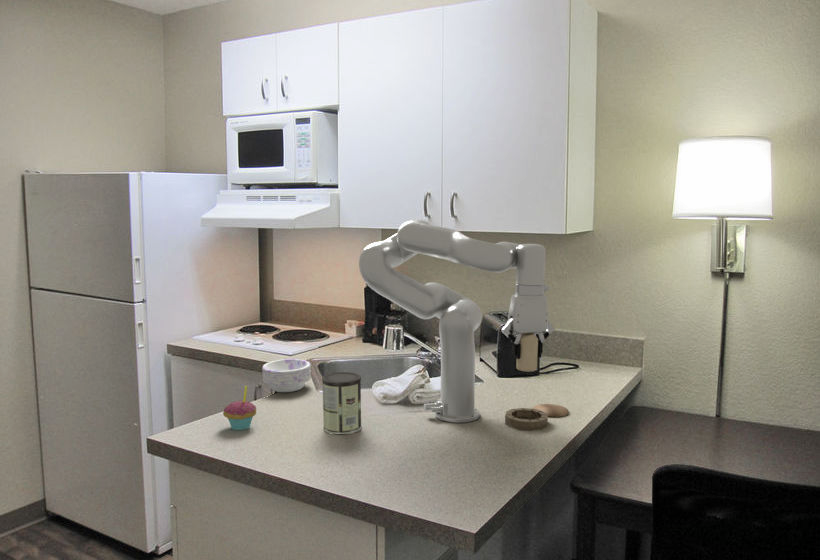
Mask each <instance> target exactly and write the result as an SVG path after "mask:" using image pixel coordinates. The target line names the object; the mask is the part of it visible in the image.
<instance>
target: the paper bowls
mask: <svg viewBox="0 0 820 560" xmlns="http://www.w3.org/2000/svg"><path fill="white" fill-rule="evenodd" d="M311 366H312V365H311V363H310V362H309V361H307V360H305V359H299V358H286V359H285V358H283V359H277V360H273V361H269V362H266V363H264V364H263V365H262V367H261V368H262V369H261V371H262V372H261V373H262V382H263V383H264V384H265V385H268V386H269V388H270V390H271V391H273V392H276V393H293V392H296V391H300V390H302V389H303V388H304V386H305V384H306V383H307V382H308V381H310V380H311V379H312V370H311Z"/></svg>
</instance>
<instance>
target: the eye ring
mask: <svg viewBox="0 0 820 560" xmlns="http://www.w3.org/2000/svg"><path fill="white" fill-rule="evenodd" d="M504 418H505V419H504V423H505V425H507V426H508V427H510V428H512V429H515V430H519V431H528V432H532V431H542V430H543V429H545V428H547V427H548V424H549V423H548V421H549V420H548V419H549V417H548V414H546V413H545V412H543V411H540V410H536V409H533V408H530V407H529V408H528V407H520V408H519V407H518V408H511V409H509V410H506V412H505V415H504Z"/></svg>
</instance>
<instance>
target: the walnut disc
mask: <svg viewBox="0 0 820 560" xmlns="http://www.w3.org/2000/svg"><path fill="white" fill-rule="evenodd" d="M532 409H536V410H540V411H543V412H545V413H546V414H548V418H562V417H566V416H568V414H569V409H568V408H567V407H564V406H562V405H559V404H553V403H552V404H550V403H544V404H543V403H542V404H538V405H535V406H533V407H532Z"/></svg>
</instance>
